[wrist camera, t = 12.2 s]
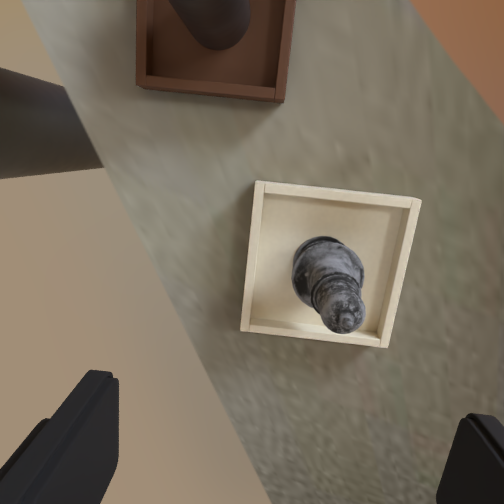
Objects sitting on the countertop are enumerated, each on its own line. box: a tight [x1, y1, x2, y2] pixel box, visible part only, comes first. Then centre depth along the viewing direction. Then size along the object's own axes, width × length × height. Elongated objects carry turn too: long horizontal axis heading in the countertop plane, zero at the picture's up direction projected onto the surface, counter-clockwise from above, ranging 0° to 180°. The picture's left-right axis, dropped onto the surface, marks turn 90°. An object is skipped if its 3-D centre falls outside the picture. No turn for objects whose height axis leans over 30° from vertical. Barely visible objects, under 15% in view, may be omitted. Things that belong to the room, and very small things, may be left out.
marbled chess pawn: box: [291, 236, 366, 334], centre depth 27 cm, size 6×6×12 cm
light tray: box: [240, 180, 422, 348], centre depth 32 cm, size 14×14×2 cm
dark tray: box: [136, 0, 296, 103], centre depth 27 cm, size 12×12×2 cm
